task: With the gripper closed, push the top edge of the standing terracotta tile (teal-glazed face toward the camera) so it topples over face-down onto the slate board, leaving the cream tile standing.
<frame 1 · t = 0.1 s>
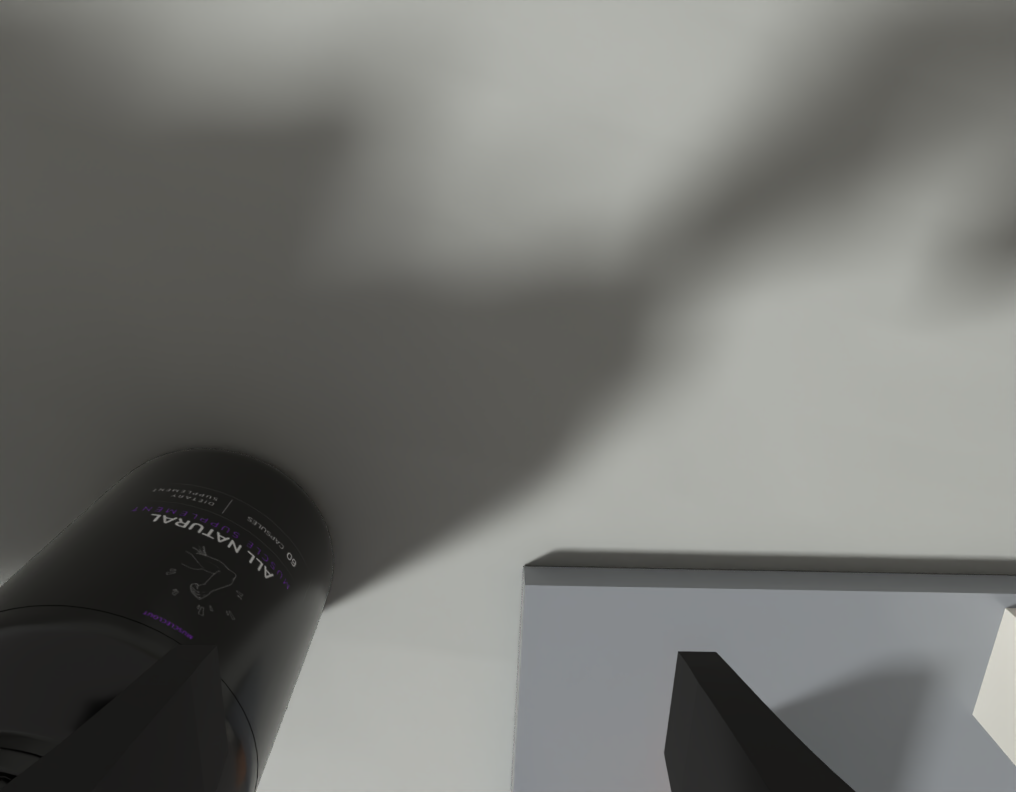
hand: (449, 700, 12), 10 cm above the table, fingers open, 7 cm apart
supplement bottle: (222, 541, 22), on the table
slate board: (775, 761, 25), on the table
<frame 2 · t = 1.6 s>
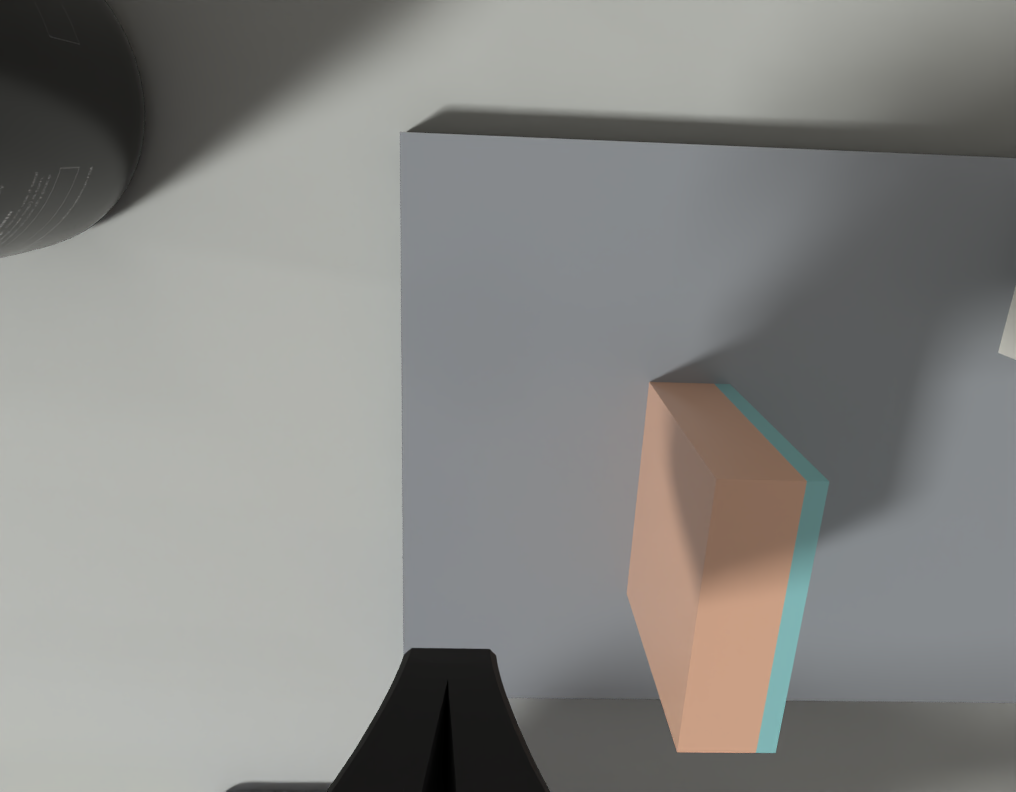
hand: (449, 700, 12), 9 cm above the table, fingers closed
supplement bottle: (2, 91, 17), on the table
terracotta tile: (675, 493, 19), point 1 cm above the table, touching slate board
slate board: (744, 444, 20), on the table
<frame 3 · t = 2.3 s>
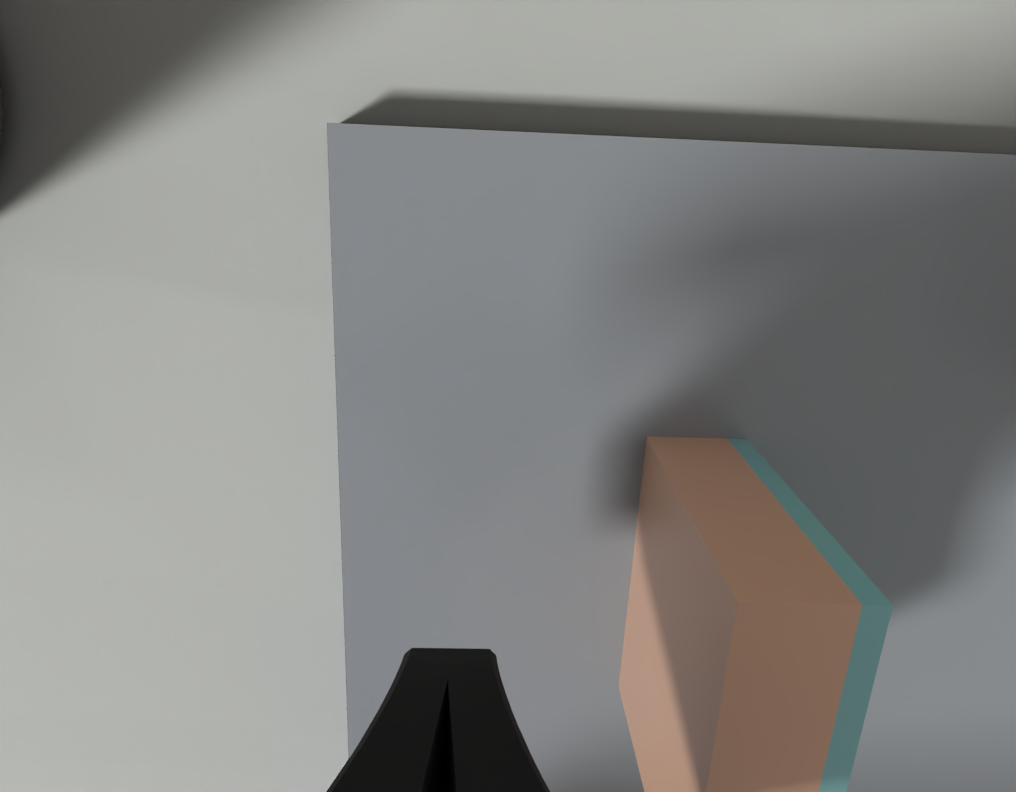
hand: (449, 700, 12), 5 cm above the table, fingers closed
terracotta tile: (679, 570, 16), point 1 cm above the table, touching slate board
slate board: (763, 507, 16), on the table
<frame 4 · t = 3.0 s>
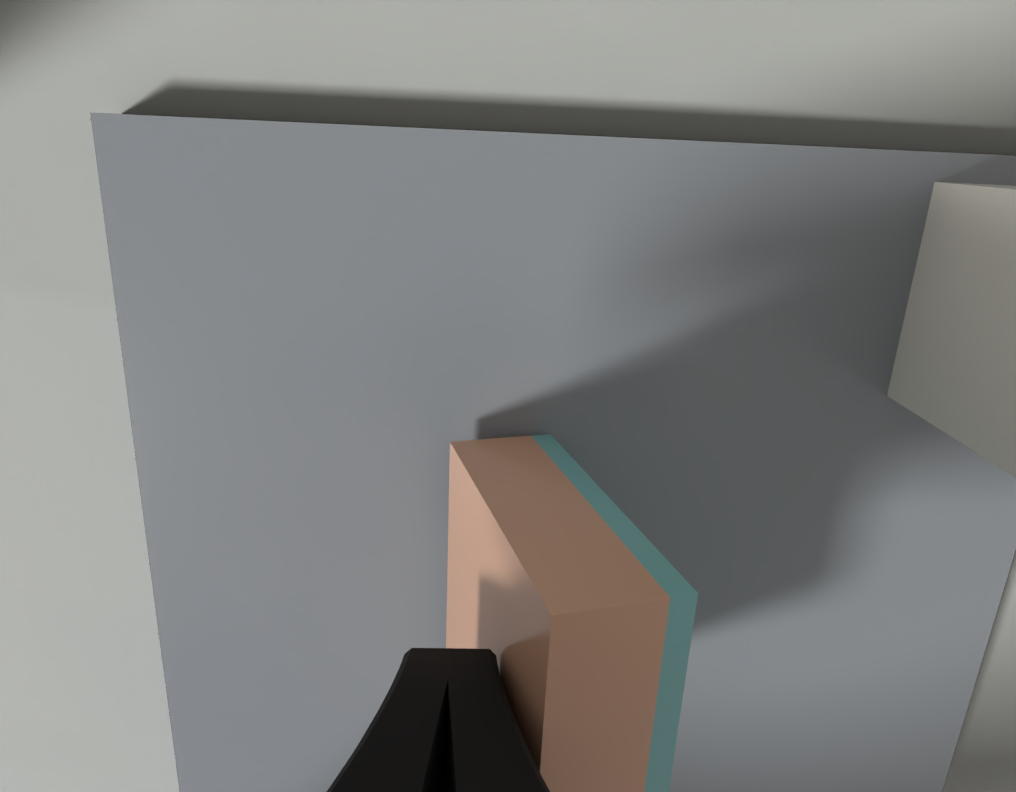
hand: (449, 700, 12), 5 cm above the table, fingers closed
cream tile: (962, 295, 14), point 1 cm above the table, touching slate board
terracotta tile: (495, 573, 15), point 1 cm above the table, tilted 15°, touching slate board
slate board: (586, 503, 16), on the table
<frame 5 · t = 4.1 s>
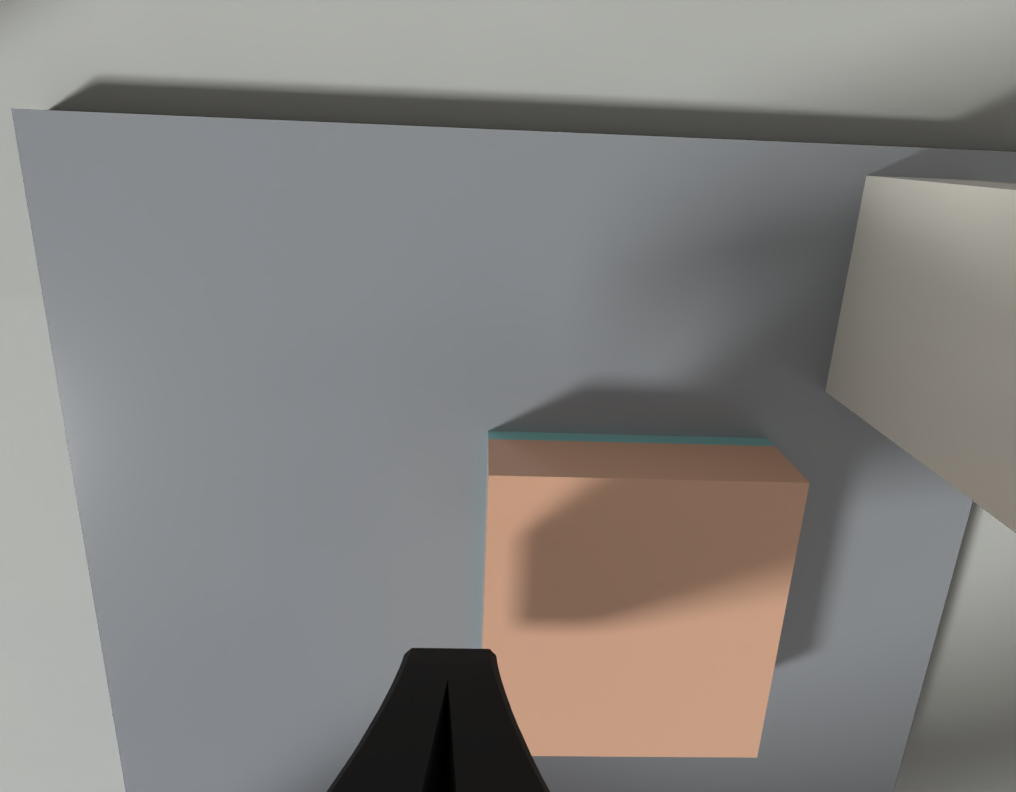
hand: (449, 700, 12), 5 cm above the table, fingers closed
cream tile: (897, 290, 14), point 1 cm above the table, touching slate board
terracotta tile: (483, 593, 14), point 2 cm above the table, tilted 90°, touching slate board
slate board: (530, 501, 16), on the table
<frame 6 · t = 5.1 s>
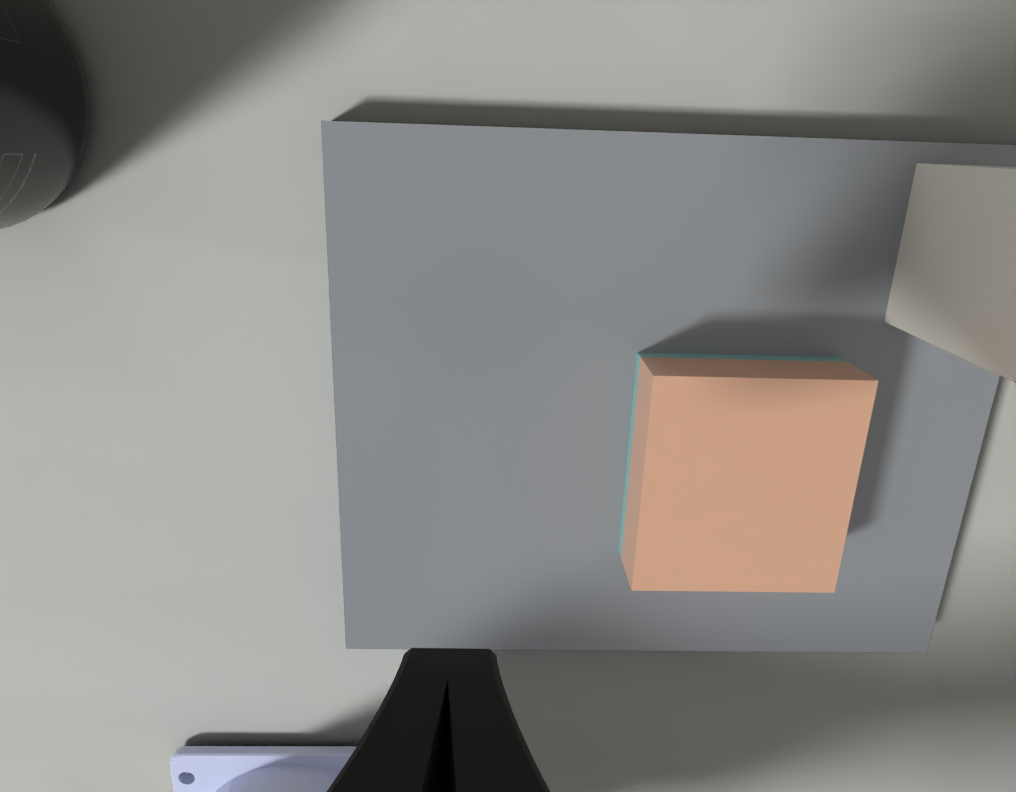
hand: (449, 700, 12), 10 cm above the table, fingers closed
cream tile: (938, 246, 19), point 1 cm above the table, touching slate board
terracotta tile: (634, 471, 20), point 2 cm above the table, tilted 90°, touching slate board
slate board: (657, 411, 21), on the table
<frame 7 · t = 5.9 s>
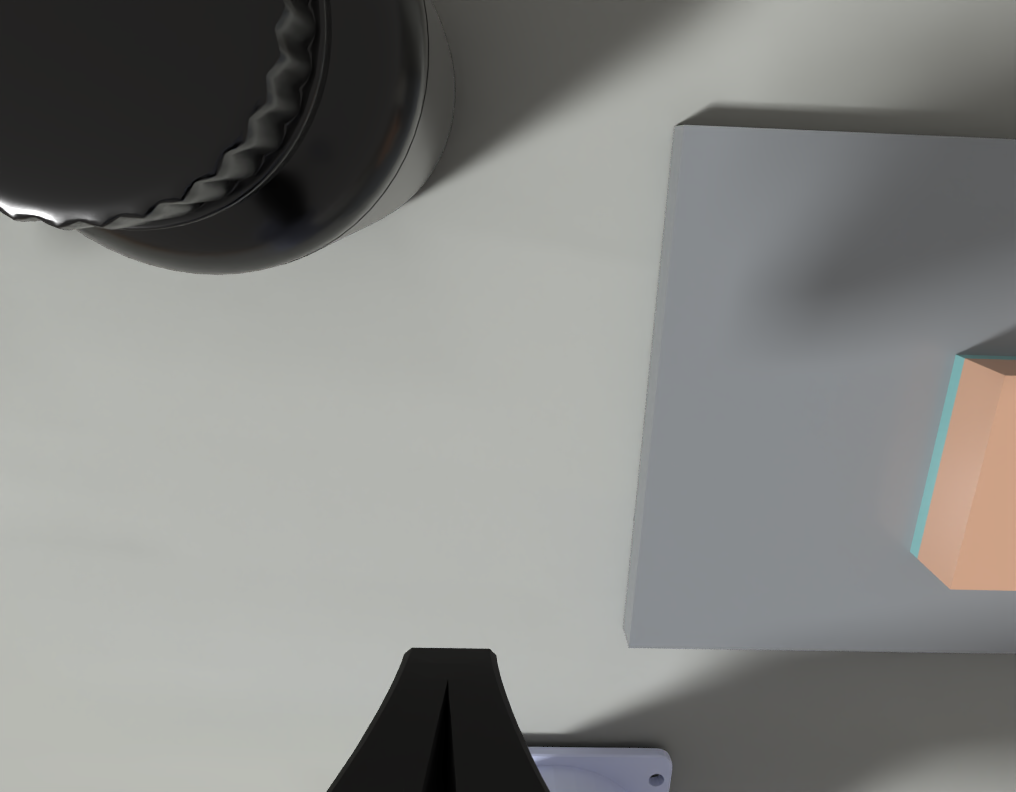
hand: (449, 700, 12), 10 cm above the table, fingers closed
supplement bottle: (320, 90, 19), on the table
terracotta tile: (952, 471, 20), point 2 cm above the table, tilted 90°, touching slate board
slate board: (952, 413, 22), on the table
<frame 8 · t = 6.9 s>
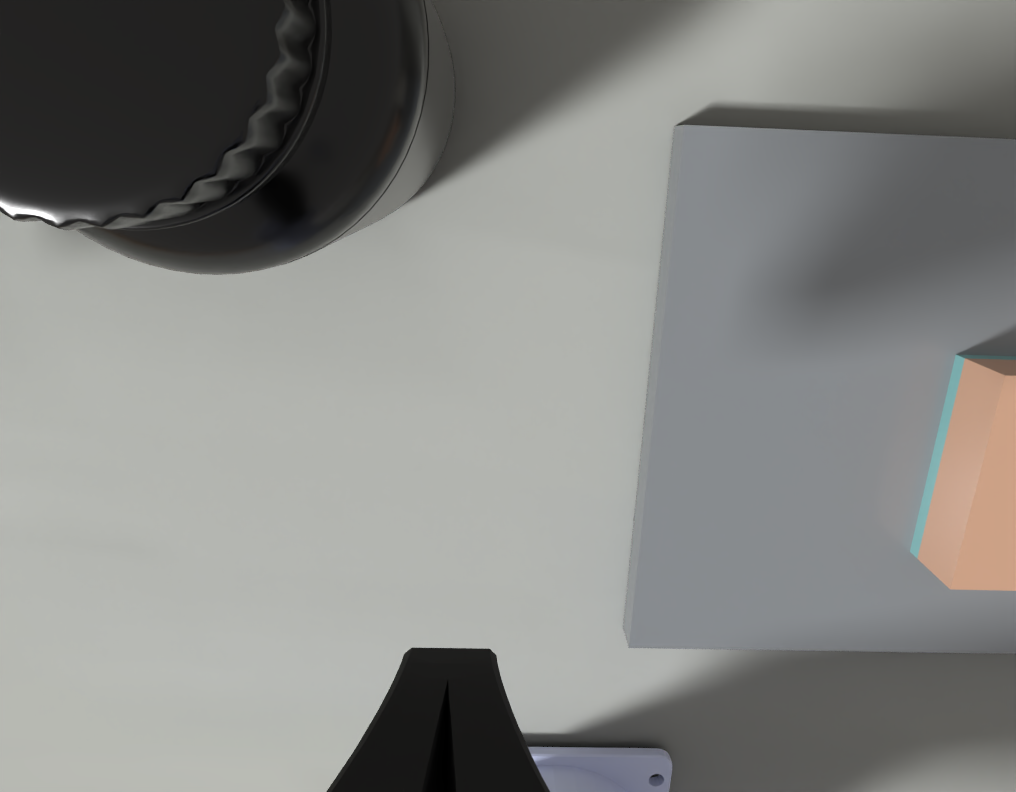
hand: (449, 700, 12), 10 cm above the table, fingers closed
supplement bottle: (319, 90, 19), on the table
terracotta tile: (952, 471, 20), point 2 cm above the table, tilted 90°, touching slate board
slate board: (952, 413, 22), on the table
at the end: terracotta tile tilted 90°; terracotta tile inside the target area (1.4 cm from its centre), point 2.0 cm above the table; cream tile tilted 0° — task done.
